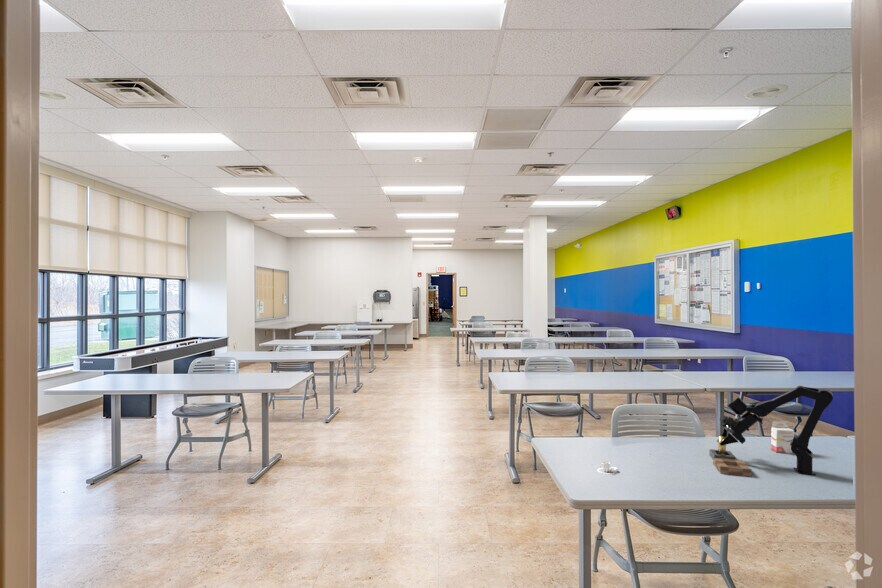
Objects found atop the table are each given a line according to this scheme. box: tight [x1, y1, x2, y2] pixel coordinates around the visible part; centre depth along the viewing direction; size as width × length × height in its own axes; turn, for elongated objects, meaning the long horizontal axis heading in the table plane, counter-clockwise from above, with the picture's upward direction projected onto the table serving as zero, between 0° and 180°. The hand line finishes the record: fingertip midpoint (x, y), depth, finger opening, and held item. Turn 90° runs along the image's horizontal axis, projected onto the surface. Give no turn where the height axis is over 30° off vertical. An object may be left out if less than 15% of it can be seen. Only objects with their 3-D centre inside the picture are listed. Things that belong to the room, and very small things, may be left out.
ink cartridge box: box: [770, 421, 795, 454], centre depth 243 cm, size 9×5×15 cm, turn 84°
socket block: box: [709, 448, 737, 460], centre depth 231 cm, size 9×9×3 cm
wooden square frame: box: [712, 458, 752, 477], centre depth 217 cm, size 12×12×3 cm
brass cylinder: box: [717, 435, 727, 455], centre depth 231 cm, size 3×3×11 cm
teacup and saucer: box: [596, 461, 619, 475], centre depth 215 cm, size 9×8×4 cm
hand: (719, 443), depth 231 cm, fingers open, 4 cm apart
